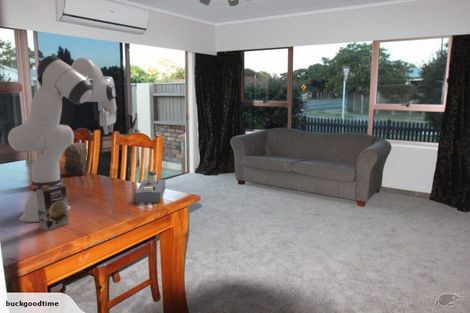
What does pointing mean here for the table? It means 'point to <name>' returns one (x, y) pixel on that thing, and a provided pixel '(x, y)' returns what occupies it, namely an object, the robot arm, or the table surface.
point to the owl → (76, 159)
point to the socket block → (150, 191)
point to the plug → (152, 177)
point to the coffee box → (52, 207)
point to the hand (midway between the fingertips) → (108, 133)
